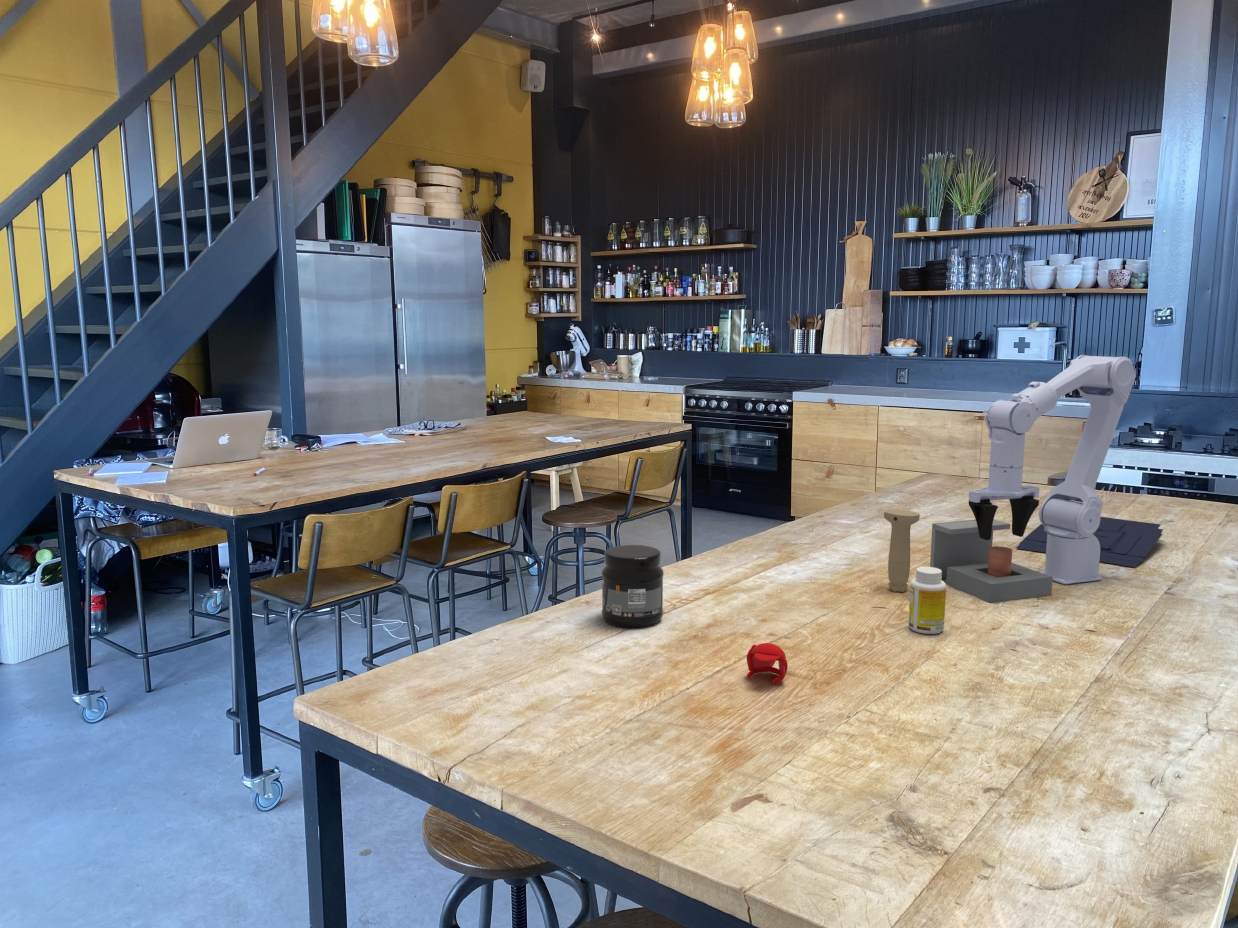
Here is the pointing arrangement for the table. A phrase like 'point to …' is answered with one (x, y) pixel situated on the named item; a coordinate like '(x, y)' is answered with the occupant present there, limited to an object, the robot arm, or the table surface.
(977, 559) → the socket stand
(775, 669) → the red toy helmet
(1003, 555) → the peg
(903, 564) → the handle
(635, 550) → the supplement container
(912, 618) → the supplement bottle
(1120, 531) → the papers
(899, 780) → the table surface
